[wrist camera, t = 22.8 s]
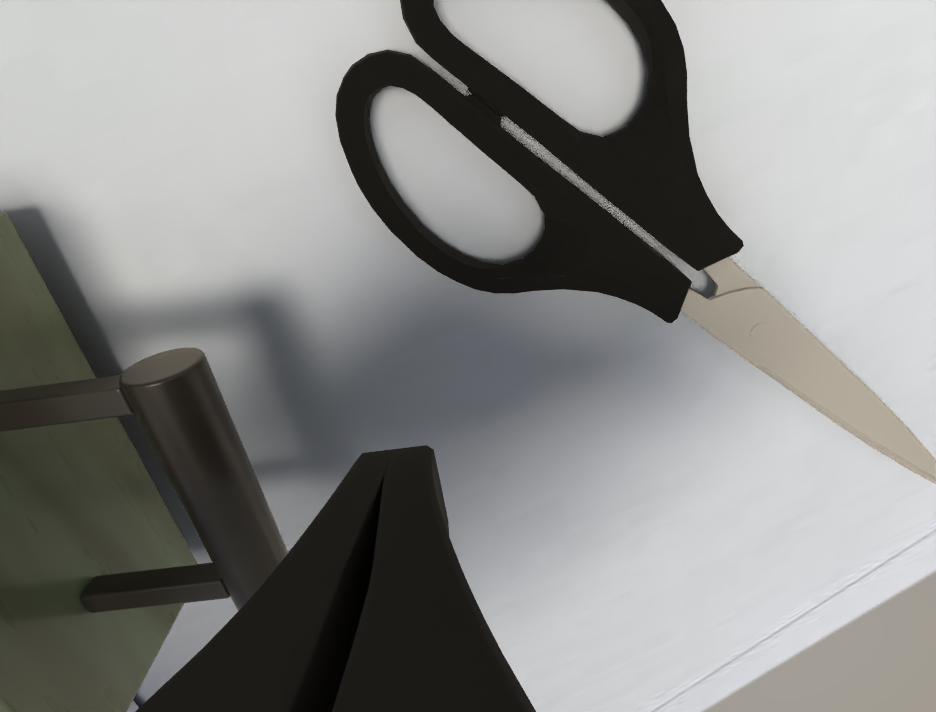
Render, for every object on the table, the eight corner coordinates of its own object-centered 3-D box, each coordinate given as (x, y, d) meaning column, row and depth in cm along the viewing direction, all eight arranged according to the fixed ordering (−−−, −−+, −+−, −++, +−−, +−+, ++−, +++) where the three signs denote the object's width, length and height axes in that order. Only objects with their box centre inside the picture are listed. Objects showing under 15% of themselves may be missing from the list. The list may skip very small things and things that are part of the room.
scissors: (1061, 390, 14) (473, -167, 9) (1095, 407, 14) (474, -192, 8) (855, 535, 17) (300, 170, 11) (875, 557, 16) (288, 177, 11)
